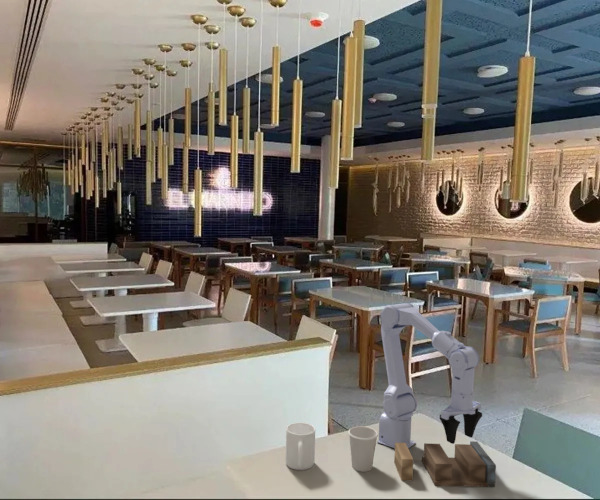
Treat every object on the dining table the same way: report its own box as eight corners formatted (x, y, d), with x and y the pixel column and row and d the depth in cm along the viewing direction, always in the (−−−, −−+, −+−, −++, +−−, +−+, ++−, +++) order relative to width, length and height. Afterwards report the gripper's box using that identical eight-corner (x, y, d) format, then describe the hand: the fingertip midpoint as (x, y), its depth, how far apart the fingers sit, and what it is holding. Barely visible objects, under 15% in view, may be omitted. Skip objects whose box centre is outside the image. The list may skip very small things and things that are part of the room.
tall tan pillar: (401, 480, 135) (402, 459, 135) (394, 462, 145) (395, 442, 145) (412, 481, 135) (413, 459, 135) (404, 462, 145) (405, 442, 145)
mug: (315, 478, 135) (316, 441, 134) (284, 477, 135) (285, 440, 134) (314, 457, 147) (315, 423, 146) (285, 456, 147) (286, 422, 146)
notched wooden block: (434, 485, 133) (435, 463, 133) (421, 460, 147) (422, 440, 147) (494, 487, 133) (495, 465, 133) (476, 461, 147) (477, 441, 147)
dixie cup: (342, 469, 140) (343, 434, 140) (353, 456, 148) (354, 423, 147) (370, 476, 137) (372, 441, 136) (380, 464, 144) (382, 430, 143)
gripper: (456, 400, 131) (454, 451, 132) (491, 391, 139) (488, 438, 140) (435, 392, 137) (433, 440, 138) (470, 383, 145) (467, 429, 146)
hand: (459, 439), depth 139 cm, fingers open, 7 cm apart
